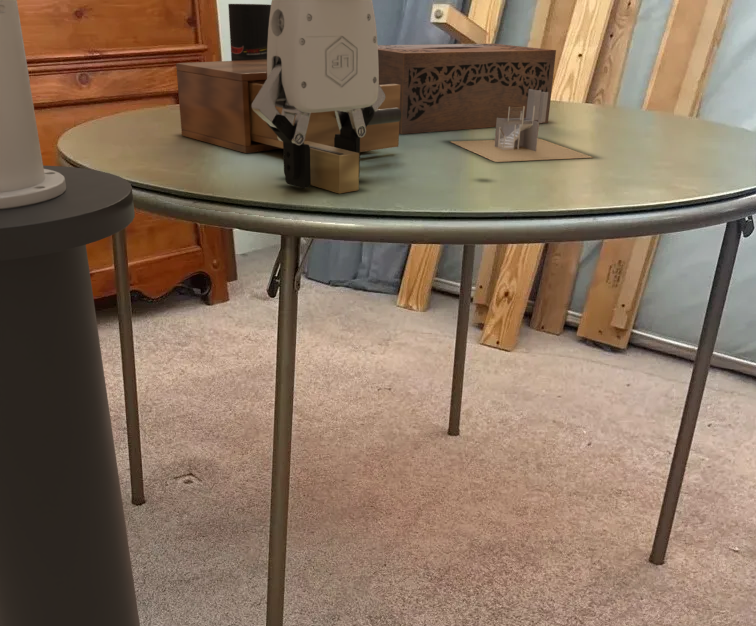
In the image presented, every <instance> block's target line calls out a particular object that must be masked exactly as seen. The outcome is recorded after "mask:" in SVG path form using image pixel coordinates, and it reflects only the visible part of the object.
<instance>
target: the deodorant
mask: <svg viewBox="0 0 756 626" xmlns="http://www.w3.org/2000/svg"><path fill="white" fill-rule="evenodd" d="M227 4H228V5H227V6H228V22H229V39H230V40H229V41H230V43H229V44H230V59H231V60H230V61H241V60H264V59H267V43H268V28H269V17H270V10H271V4H268V3H267V4H265V3H263V4H262V3H227Z"/></svg>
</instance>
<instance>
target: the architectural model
mask: <svg viewBox="0 0 756 626" xmlns="http://www.w3.org/2000/svg"><path fill="white" fill-rule="evenodd" d="M540 98H541V101H540ZM547 100H548V92H541V90H532V89H529V91H528V101H527V111H526V118H524V109H525V106H523V107H517V108H523V111H521V114H520V115H519V114H518V113H517V112H516V111H514V110H513V109H512V108H510V107H509V111H510V109H511V110H512V111H513V112H514V113H515V114H517V115H518V116H519V117H520V118H512V119H510V118H509V112H508V119H503V118H497V122H496V127H495V134H494V139H483V140H481V139H480V140H479V139H478V140H456V141H455V140H453V141H452V140H451V141H450V143H451V144H454V145H455V146H458V147H461V148H463V149H465V150H468V151H469V152H471V153H474V154H476V155H479V156H481V157H482V158H486V159H488V160H490V161H492V162H495V163H501V162H505V163H506V162H524V161H525V162H526V161H547V160H567V159H571V160H572V159H591V158H594V156H590V155H589V154H585V153H582V152H579V151H576V150H574V149H570V148H568V147H565V146H562V145H560V144H556V143H554V142H550V141H548V140H545V139H542V138H540V137H539V129H540V124H543V123H542V122H545V119H546V109H547ZM539 108H540V110H539ZM522 112H523V113H522ZM538 117H539V120H538ZM534 120H538V122H537V121H534Z"/></svg>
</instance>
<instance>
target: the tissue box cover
mask: <svg viewBox="0 0 756 626" xmlns="http://www.w3.org/2000/svg"><path fill="white" fill-rule="evenodd" d="M556 54H557V50H556V49H549V48H539V47H530V46H522V45H521V46H520V45H511V44H503V43H439V44H437V43H436V44H435V43H434V44H429V43H428V44H378V65H379V85H384V84H398V85H400V110H401V113H402V117H401V120H400V121H399V135H407V134H420V133H433V132H445V131H446V132H447V131H458V130H471V129H483V128H484V129H485V128H496V122H497V118H503V119H508V112H509V118H510V119H512V118H520V117H519V116H518V115H517V114H515V113H514V112H513V111H512V110H511V109H510V111H509V107H510V108H512V109H513V110H514V111H516V112H517V113H518V114H519V115H520V114H521V111H523V108H517V107H523V106H525V109H524V118H526V111H527V101H528V91H529V89H532V90H541V92H548V100H547V109H546V119H545V122H542V123H541V124H548V123H549V118H550V110H551V99H552V91H553V83H554V72H555V66H556V65H555V64H556ZM540 101H541V98H540ZM539 110H540V108H539ZM522 113H523V112H522ZM538 120H539V117H538ZM538 120H534V121H537V122H538Z"/></svg>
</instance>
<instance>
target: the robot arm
mask: <svg viewBox="0 0 756 626" xmlns="http://www.w3.org/2000/svg"><path fill="white" fill-rule="evenodd" d="M18 5H19V4H18V0H0V210H2V209H10V208H17V207H23V206H28V205H33V204H37V203H41V202H45V201H48V200H51V199H53V198H56V197H58V196H60V195H61V194H62V193H63V192H65V190H66V183H65V178H64V176H63V175H61V174H60V173H58V172H56V171H53V170H48V169H44V168H43V166H44V163H43V162H44V161H43V156H42V150H41V143H40V137H39V131H38V125H37V118H36V113H35V105H34V100H33V93H32V86H31V80H30V75H29V69H28V63H27V55H26V50H25V49H26V48H25V44H24V37H23V31H22V24H21V17H20V11H19V6H18ZM270 5H271V10H270V17H269V28H268V43H267V80H266V81H265V83H264V85H263V86H262V88H261V89H260V91H259V93H258V94H257V96H256V98H255V99H254V101H253V102H252V109H253V111H254V112H255V113H256V114H257V115H259V116H260V117H261V118H262V119H263V120H264V121H266V122H267V125H268V126H269V127H270V128H271V129H272V130H273V131H274V132H275V134H276V135H277V138H278V140H279V141H282V142H283V149H282V152H283V153H282V154H283V174H284V177H285V179H284V180H285V182H286V184H287V185H290V186H294V187H297V188H301V189H308V188H310V186H311V185H310V184H311V176H310V147H309V145H308V144H304V140H305V136H306V132H307V127H308V123H309V119H310V115H311V113H317V112H328V111H335V115H336V119H337V123H338V127H339V131H340V134H335V138H334V147H336V148H340V149H344V150H348V151H352V152H357V153H359V177H360V176H361V175H360V170H361V167H360V164H361V152H360V138H362V137H364V136H365V134H366V127H367V125H368V124H369V122H370V121H371V119H372V118H373V116H374V112H376V111H377V109H378V108H379V107H380V106H381V104H382V103H383V102H384V100H385V93H384V92H383V90H382V88H381V87H380V85H379V65H378V45H379V43H378V31H377V23H376V21H377V20H376V15H375V10H374V2H373V0H271V2H270ZM275 106H277V107H281V108H283V109H282V113H281V114H280V113H279V112H278V110H277V109H276V107H275ZM348 113H349V114H348ZM295 115H296V117H295ZM294 118H295V122H294ZM293 123H294V126H293Z"/></svg>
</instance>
